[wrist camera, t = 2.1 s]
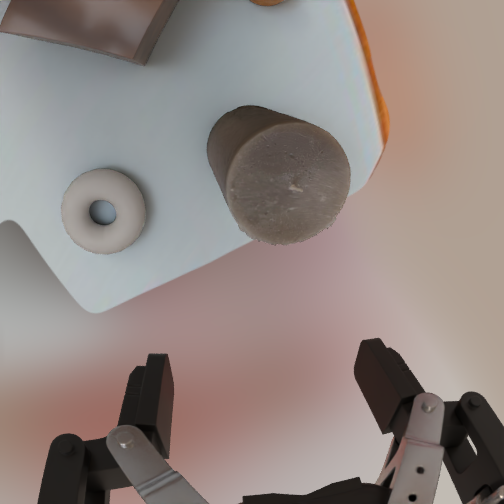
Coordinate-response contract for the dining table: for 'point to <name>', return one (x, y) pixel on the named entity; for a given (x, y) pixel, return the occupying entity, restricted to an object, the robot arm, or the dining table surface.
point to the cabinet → (92, 24)
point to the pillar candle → (278, 174)
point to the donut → (115, 192)
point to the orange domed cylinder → (266, 2)
